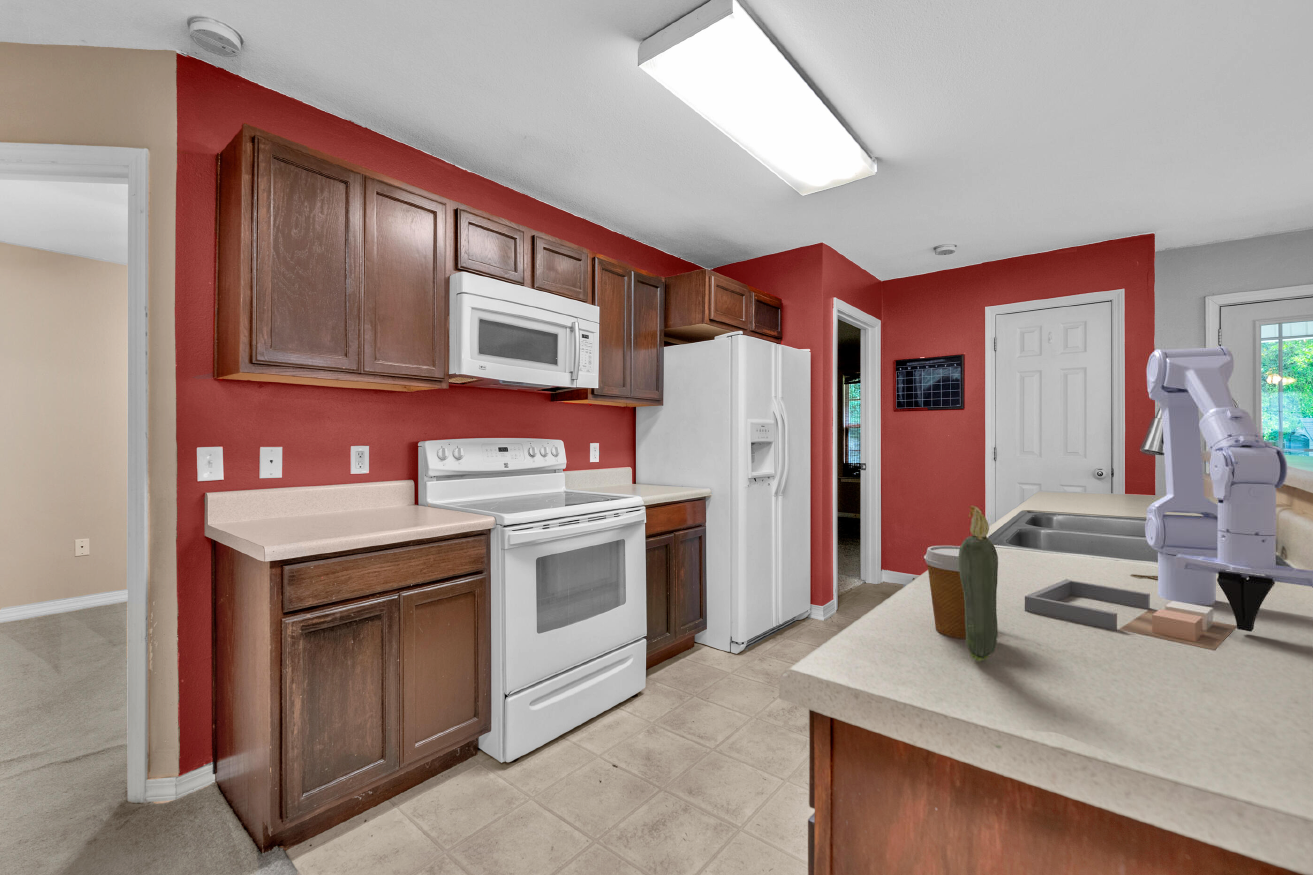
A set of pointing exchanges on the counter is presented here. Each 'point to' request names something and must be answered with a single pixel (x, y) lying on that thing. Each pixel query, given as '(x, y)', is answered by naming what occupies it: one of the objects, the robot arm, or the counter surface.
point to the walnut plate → (1206, 640)
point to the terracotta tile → (1177, 624)
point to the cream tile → (1193, 612)
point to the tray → (1050, 606)
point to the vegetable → (979, 587)
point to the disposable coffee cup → (946, 590)
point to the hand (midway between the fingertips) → (1245, 628)
